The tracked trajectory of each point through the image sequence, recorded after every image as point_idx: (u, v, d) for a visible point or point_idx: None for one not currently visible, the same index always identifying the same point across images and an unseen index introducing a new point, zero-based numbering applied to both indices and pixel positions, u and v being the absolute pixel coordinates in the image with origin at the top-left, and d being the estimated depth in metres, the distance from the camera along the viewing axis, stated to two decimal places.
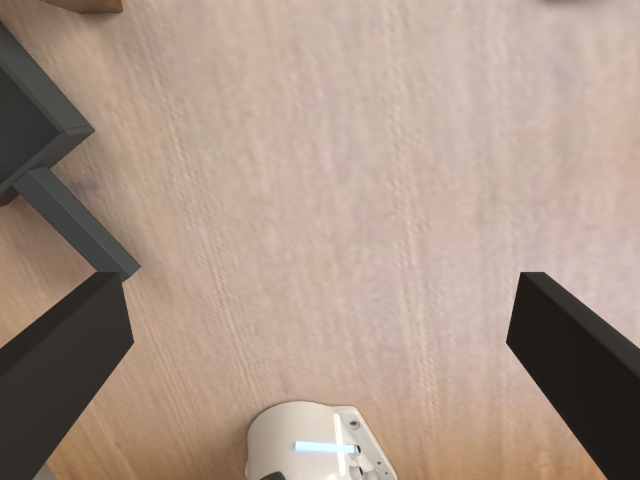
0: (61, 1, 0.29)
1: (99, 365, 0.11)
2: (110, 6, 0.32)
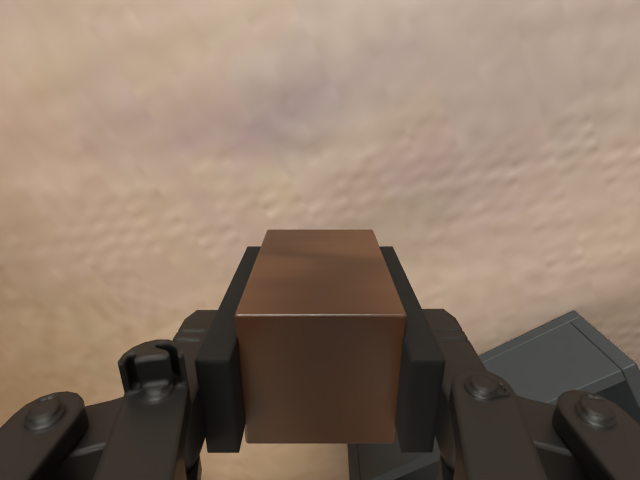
0: None
1: None
2: (380, 252, 0.12)
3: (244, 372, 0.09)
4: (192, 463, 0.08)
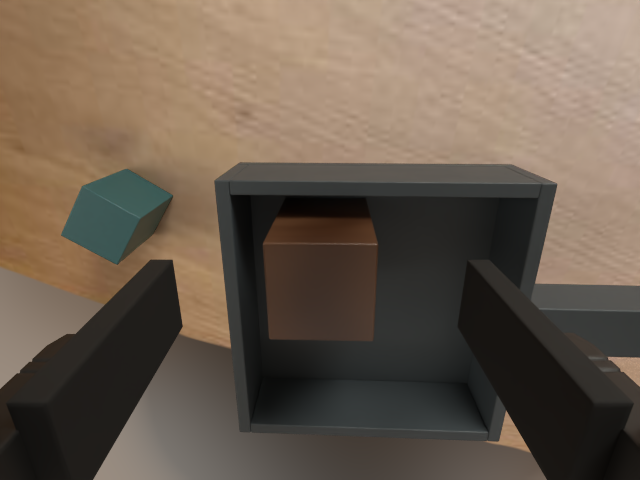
0: None
1: (159, 345, 0.12)
2: (368, 212, 0.17)
3: (268, 285, 0.14)
4: None
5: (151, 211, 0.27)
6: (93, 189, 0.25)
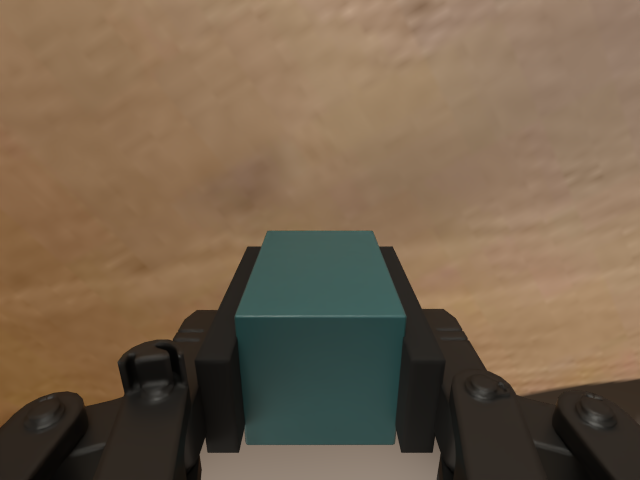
0: None
1: None
2: None
3: None
4: (192, 463, 0.08)
5: (392, 282, 0.10)
6: (260, 308, 0.09)
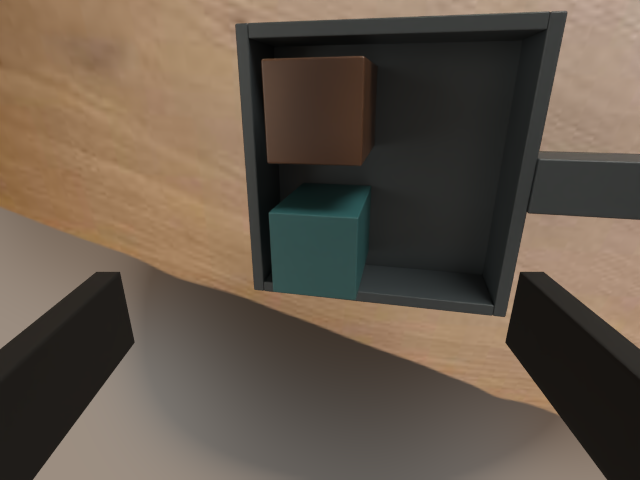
0: (366, 127, 0.16)
1: (100, 365, 0.11)
2: (373, 64, 0.17)
3: (266, 103, 0.15)
4: None
5: (363, 207, 0.18)
6: (283, 210, 0.17)
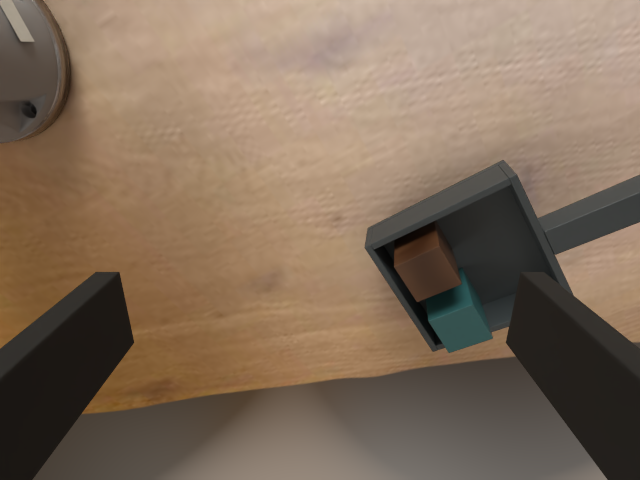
0: (452, 262, 0.32)
1: (99, 365, 0.11)
2: (434, 225, 0.33)
3: (404, 281, 0.32)
4: None
5: (469, 292, 0.33)
6: (434, 316, 0.33)
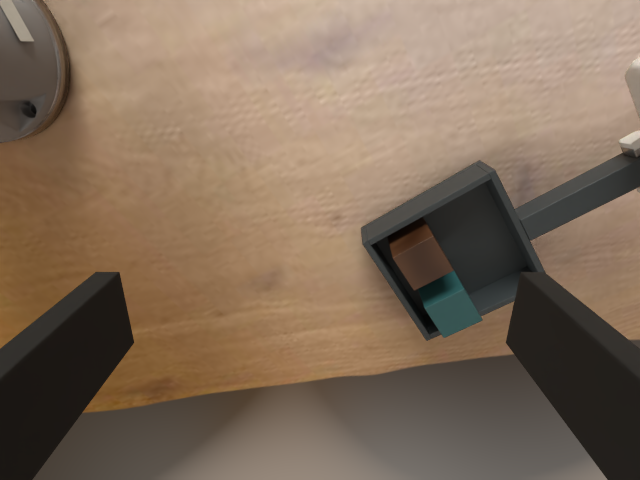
0: None
1: (99, 365, 0.11)
2: (424, 220, 0.36)
3: (402, 271, 0.34)
4: None
5: (459, 279, 0.36)
6: (429, 303, 0.36)
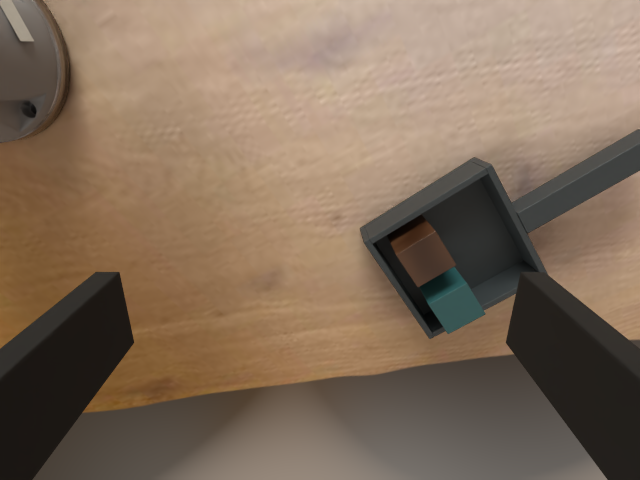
0: None
1: (99, 365, 0.11)
2: None
3: (406, 267, 0.34)
4: None
5: None
6: (432, 299, 0.36)
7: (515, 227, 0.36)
